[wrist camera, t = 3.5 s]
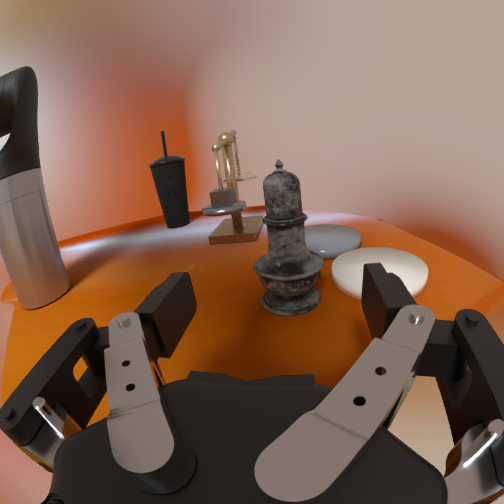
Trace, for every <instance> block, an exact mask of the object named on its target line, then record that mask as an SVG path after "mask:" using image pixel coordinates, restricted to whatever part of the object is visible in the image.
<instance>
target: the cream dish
mask: <svg viewBox="0 0 504 504" xmlns="http://www.w3.org/2000/svg"><path fill="white" fill-rule="evenodd" d="M366 263H381V264H382V265H383V267H384V268H385V270H386V272H387V273H391V272H392V273H394V274H395V275H397V276H398V277H400V278H401V280H402V281H403V283H404V285H405V286H406V288H407V290H408V291H409V292H410V294H411V295H412V297H413V298H415V297H417V296H418V295H420V294H421V293H422V292H423V291H424V289H425V287H426V283H427V277H428V268H427V266H426V264H425V263H424V262H423V261H422V260H421V259H420V258H418V257H417V256H415V255H413V254H411V253H408V252H405V251H402V250H398V249H393V248H385V247H366V248H359V249H354V250H350V251H348V252H345V253H343V254H341V255H339V256H338V257H337V258H336V259H335V260H334V261H333V263H332V281H333V283H334V285H335V286H336V287H337V289H338V290H340V291H341V292H342V293H344V294H346V295H347V296H350V297H352V298H354V299H357V300H360V301H362V299H361V296H362V281H363V267H364V264H366Z"/></svg>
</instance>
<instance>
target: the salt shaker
mask: <svg viewBox="0 0 504 504" xmlns="http://www.w3.org/2000/svg"><path fill="white" fill-rule="evenodd" d="M275 166H276V167H277V170H276V171H274V172H273V173H272V174H270V175H268V176H267V177H266V178H265V180H264V182H263V190H264V198H265V207H266V215H267V216H265V217H264V218H263V219H262V222H263V223H264V224H266V225H267V233H268V241H269V246H268V253H267V254H266V255H263V256H262V257H260V258H259V259H258V260H257V261H256V262H255V264H254V270H255V272H256V273H257V274H258V275H259V278H260V281H261V282H262V284H263V286H264V287H265V288H266V289H267V290H268V291H267V292H266V293H265V294H264V296H263V297H262V304H263V307H264V308H265V309H266V310H267V311H269V312H271V313H273V314H277V315H283V316H294V315H300V314H304V313H307V312H309V311H311V310H313V309H314V308H316V307H317V306H318V304H319V303H320V300H321V295H320V293H319V291H318V290H317V289H315V288H314V287H313V286H314V285H315V284H316V282H317V280H318V277H319V275H320V269H321V268H322V267H323V264H324V261H323V258H322V257H321V256H320V255H319V254H317V253H315V252H313V251H309V250H308V248H307V245H306V242H305V229H304V221H306V220H307V218H308V217H307V215H306V214H304V213H302V203H301V191H300V182H299V179H298V177H297V176H296V175H294V174H293V173H290V172H287V171H286V170H283V168H282V166H283V164H282V162H281V161H280V160H278V161H277V162H276V165H275Z"/></svg>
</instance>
